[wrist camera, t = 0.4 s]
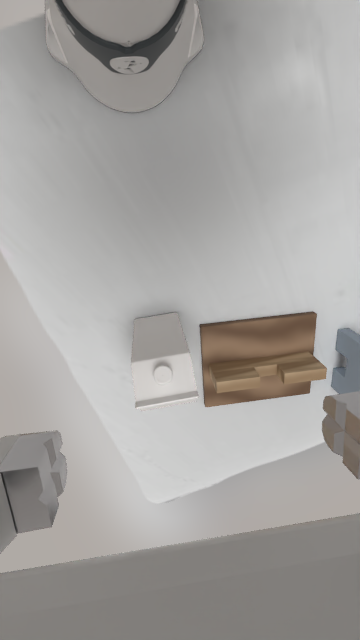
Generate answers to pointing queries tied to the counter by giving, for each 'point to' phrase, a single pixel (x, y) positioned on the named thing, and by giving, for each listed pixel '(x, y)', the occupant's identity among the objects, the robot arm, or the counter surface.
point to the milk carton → (161, 363)
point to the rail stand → (259, 358)
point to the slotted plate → (356, 351)
